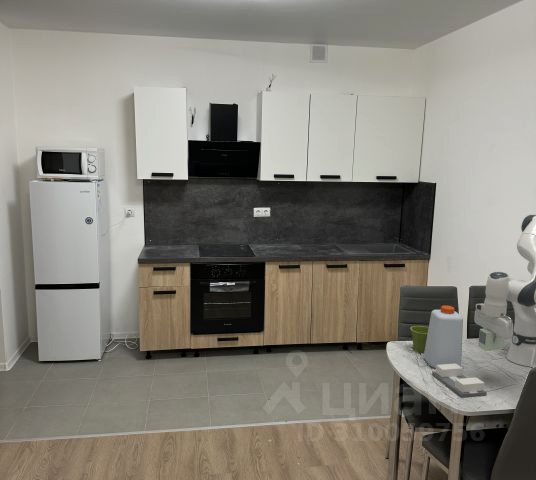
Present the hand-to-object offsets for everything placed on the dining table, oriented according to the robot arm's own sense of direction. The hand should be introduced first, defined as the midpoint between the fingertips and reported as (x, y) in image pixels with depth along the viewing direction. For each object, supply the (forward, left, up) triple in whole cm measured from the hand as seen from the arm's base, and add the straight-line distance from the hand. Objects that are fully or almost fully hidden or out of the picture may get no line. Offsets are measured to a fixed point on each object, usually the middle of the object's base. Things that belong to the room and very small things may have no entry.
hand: (491, 340), depth 205 cm
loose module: (0, 0, -3) cm, 3 cm away
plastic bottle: (+8, -21, -19) cm, 30 cm away
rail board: (+14, 0, -19) cm, 24 cm away
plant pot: (+10, -37, -19) cm, 43 cm away
